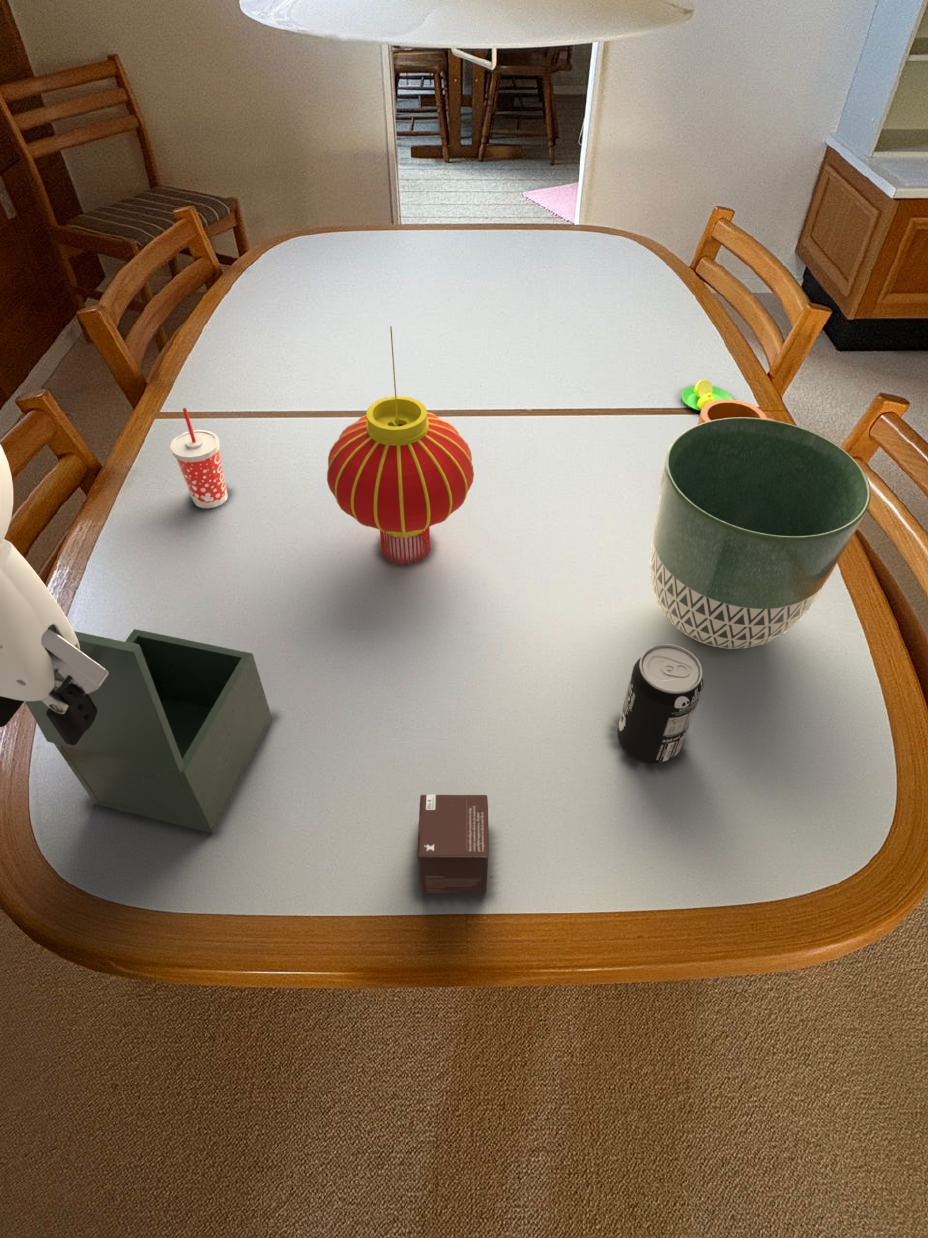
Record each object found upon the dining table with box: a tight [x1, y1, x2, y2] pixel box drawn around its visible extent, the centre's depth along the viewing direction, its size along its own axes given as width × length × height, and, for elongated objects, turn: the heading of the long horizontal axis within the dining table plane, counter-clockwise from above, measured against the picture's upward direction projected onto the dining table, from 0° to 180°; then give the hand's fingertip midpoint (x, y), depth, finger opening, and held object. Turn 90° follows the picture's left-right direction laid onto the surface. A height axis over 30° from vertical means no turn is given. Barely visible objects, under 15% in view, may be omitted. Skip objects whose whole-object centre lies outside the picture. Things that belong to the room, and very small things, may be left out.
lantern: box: [326, 325, 475, 565], centre depth 90 cm, size 17×17×30 cm
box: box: [416, 793, 490, 894], centre depth 69 cm, size 6×6×7 cm
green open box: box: [53, 628, 273, 834], centre depth 75 cm, size 14×13×11 cm
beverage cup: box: [170, 407, 228, 509], centre depth 103 cm, size 6×6×14 cm
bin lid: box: [24, 630, 184, 773], centre depth 60 cm, size 14×13×5 cm
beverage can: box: [616, 643, 705, 765], centre depth 77 cm, size 7×7×12 cm
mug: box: [697, 399, 776, 425], centre depth 109 cm, size 9×12×9 cm
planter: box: [649, 417, 872, 650], centre depth 85 cm, size 20×20×21 cm
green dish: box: [681, 379, 734, 412], centre depth 124 cm, size 8×8×3 cm
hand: (46, 718), depth 57 cm, fingers closed on bin lid, 5 cm apart
